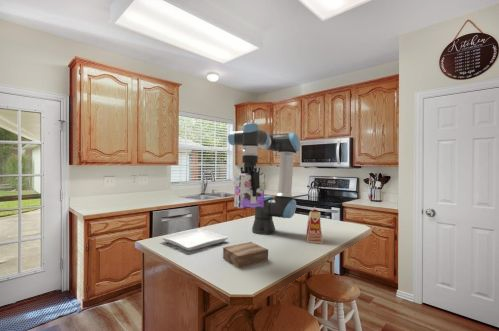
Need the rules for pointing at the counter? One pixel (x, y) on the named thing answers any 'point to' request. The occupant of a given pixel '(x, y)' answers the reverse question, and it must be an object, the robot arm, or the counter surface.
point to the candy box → (247, 192)
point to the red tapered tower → (314, 227)
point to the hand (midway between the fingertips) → (249, 202)
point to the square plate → (194, 239)
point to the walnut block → (245, 254)
